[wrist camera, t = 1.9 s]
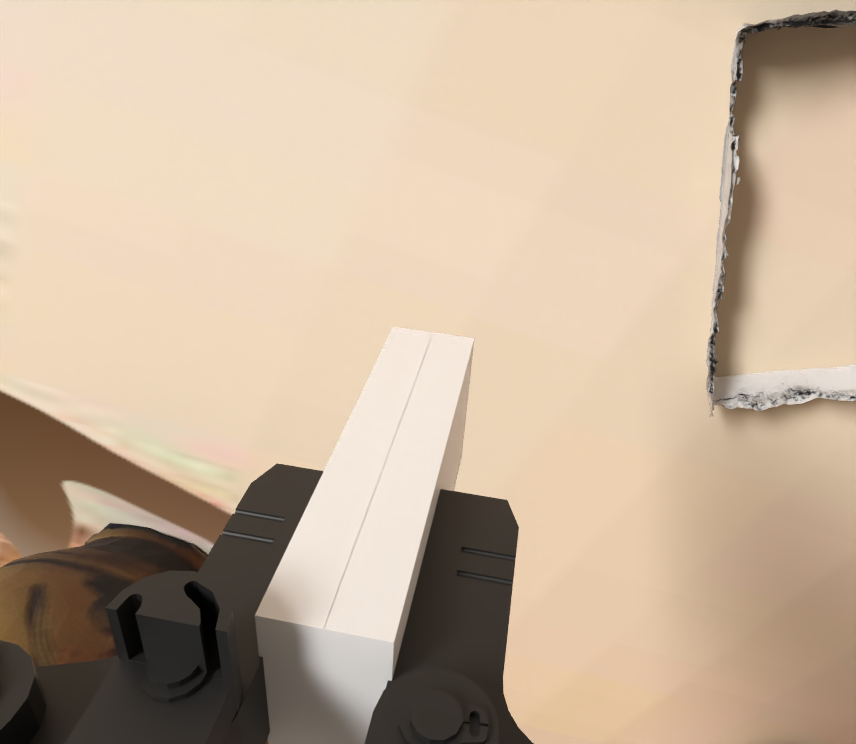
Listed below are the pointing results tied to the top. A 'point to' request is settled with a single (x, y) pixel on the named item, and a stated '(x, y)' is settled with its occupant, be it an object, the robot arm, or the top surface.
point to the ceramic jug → (82, 591)
